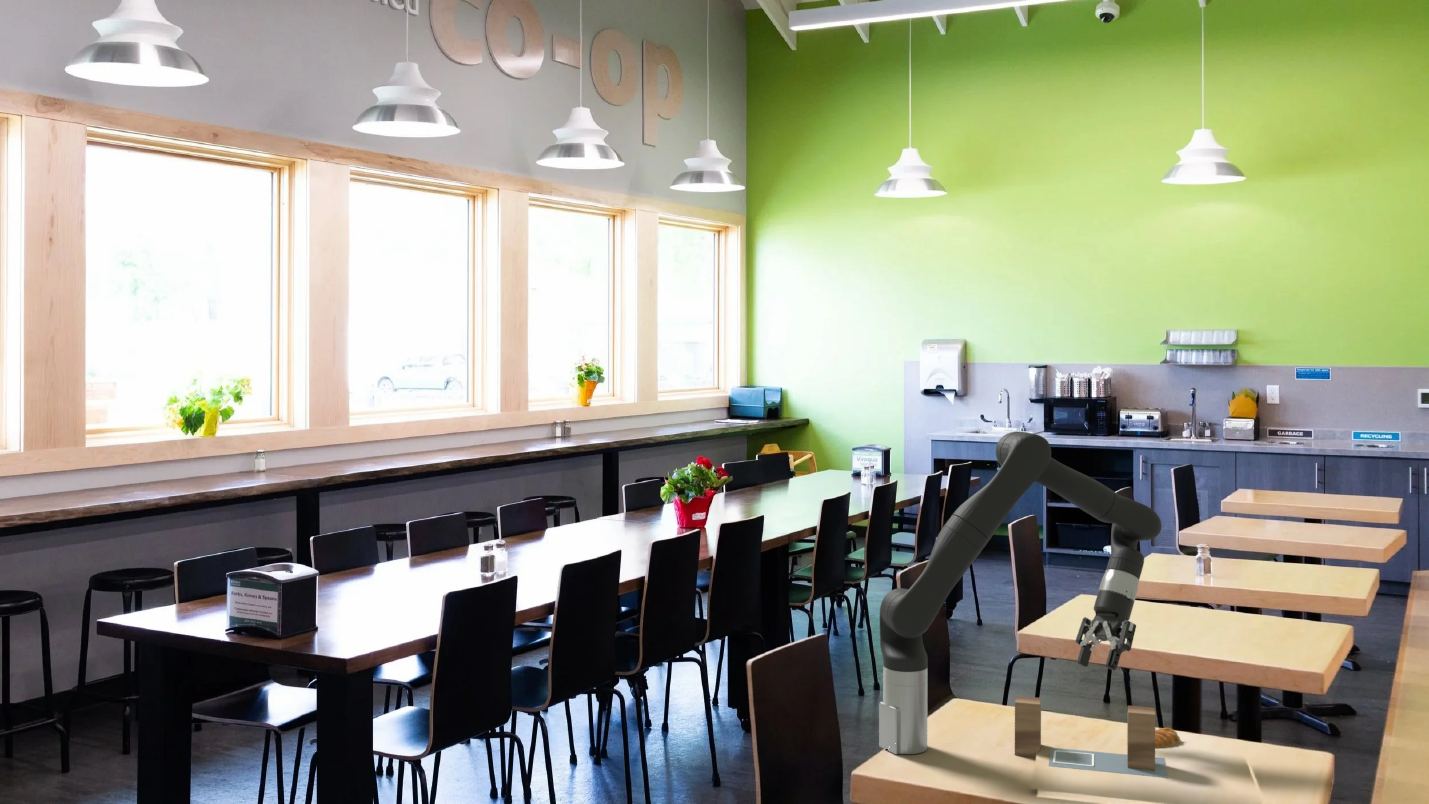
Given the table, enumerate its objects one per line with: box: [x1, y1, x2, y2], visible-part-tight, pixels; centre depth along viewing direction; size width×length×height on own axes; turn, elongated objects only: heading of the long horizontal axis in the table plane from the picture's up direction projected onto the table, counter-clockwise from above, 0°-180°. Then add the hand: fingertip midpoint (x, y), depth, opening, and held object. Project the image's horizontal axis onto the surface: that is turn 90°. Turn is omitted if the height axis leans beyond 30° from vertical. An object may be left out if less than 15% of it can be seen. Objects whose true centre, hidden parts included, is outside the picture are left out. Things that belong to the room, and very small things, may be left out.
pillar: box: [1014, 695, 1042, 758], centre depth 240 cm, size 5×5×11 cm
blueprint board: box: [1048, 747, 1168, 779], centre depth 231 cm, size 12×22×1 cm, turn 72°
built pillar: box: [1126, 705, 1156, 771], centre depth 228 cm, size 5×5×11 cm
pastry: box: [1155, 727, 1183, 749], centre depth 243 cm, size 9×7×4 cm
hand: (1096, 667), depth 243 cm, fingers open, 8 cm apart
